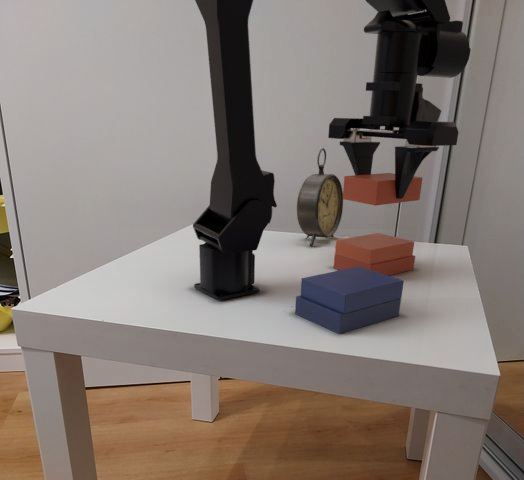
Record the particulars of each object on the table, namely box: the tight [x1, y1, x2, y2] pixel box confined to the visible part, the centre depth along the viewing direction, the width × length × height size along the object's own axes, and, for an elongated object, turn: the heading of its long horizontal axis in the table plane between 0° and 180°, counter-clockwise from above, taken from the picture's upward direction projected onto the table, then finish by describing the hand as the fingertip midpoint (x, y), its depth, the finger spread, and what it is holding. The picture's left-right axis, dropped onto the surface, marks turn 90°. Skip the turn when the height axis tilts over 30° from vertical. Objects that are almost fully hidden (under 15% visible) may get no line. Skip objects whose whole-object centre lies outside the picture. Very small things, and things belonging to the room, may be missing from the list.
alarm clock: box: [296, 147, 344, 248], centre depth 94 cm, size 11×5×16 cm, turn 148°
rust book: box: [342, 172, 424, 206], centre depth 76 cm, size 10×6×3 cm
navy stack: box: [294, 266, 405, 335], centre depth 62 cm, size 10×8×4 cm
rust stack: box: [333, 232, 416, 276], centre depth 81 cm, size 10×8×4 cm
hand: (381, 195), depth 77 cm, fingers closed on rust book, 6 cm apart
